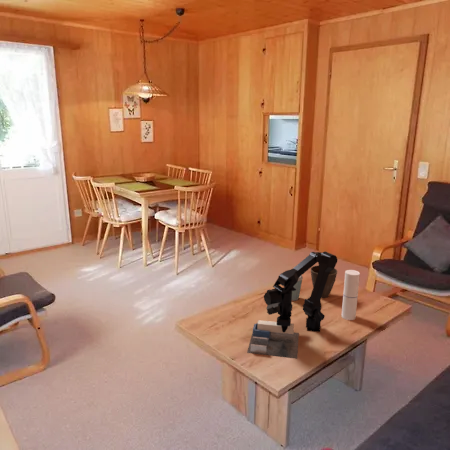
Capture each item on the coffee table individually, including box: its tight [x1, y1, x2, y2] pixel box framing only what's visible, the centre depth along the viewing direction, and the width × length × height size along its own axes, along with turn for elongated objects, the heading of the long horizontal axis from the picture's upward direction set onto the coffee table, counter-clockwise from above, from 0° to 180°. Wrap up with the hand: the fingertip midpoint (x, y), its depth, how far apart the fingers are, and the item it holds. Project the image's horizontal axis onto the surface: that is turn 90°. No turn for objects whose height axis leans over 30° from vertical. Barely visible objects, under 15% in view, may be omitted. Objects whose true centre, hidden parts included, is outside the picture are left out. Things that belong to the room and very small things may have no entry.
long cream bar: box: [256, 319, 295, 334], centre depth 196 cm, size 17×4×4 cm, turn 78°
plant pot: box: [310, 264, 338, 299], centre depth 239 cm, size 15×15×16 cm
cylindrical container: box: [340, 269, 361, 321], centre depth 213 cm, size 7×7×25 cm
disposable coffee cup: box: [292, 275, 304, 302], centre depth 235 cm, size 11×11×15 cm
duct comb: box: [246, 322, 300, 360], centre depth 190 cm, size 22×22×4 cm
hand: (284, 330), depth 195 cm, fingers closed on long cream bar, 3 cm apart
